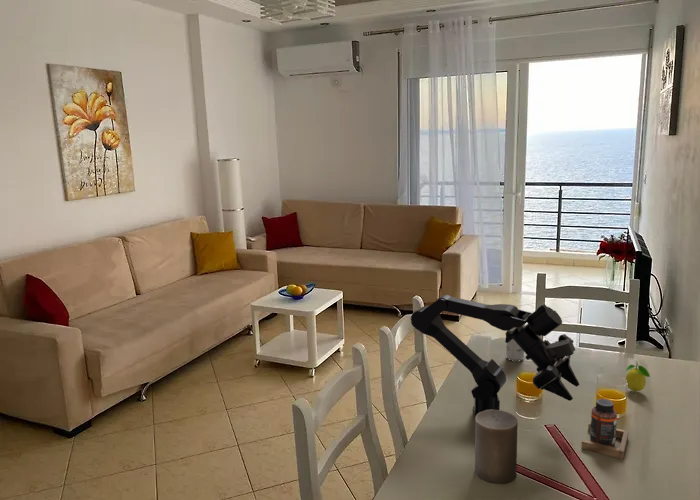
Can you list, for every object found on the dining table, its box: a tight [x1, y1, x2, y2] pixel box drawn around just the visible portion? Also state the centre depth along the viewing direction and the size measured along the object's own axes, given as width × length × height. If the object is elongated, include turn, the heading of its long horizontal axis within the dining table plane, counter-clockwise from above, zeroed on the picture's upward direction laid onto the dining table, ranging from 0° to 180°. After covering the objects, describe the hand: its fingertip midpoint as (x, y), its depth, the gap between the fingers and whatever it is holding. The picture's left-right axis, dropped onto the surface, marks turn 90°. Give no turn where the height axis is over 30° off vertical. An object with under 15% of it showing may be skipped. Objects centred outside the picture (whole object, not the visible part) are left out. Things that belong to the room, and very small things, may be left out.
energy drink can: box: [505, 323, 526, 362], centre depth 192 cm, size 6×6×15 cm
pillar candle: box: [474, 409, 518, 485], centre depth 127 cm, size 10×10×15 cm
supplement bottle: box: [589, 398, 618, 447], centre depth 138 cm, size 6×6×11 cm
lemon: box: [625, 362, 651, 393], centre depth 165 cm, size 7×6×10 cm
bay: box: [581, 421, 629, 460], centre depth 139 cm, size 10×11×2 cm
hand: (574, 392), depth 141 cm, fingers open, 9 cm apart
